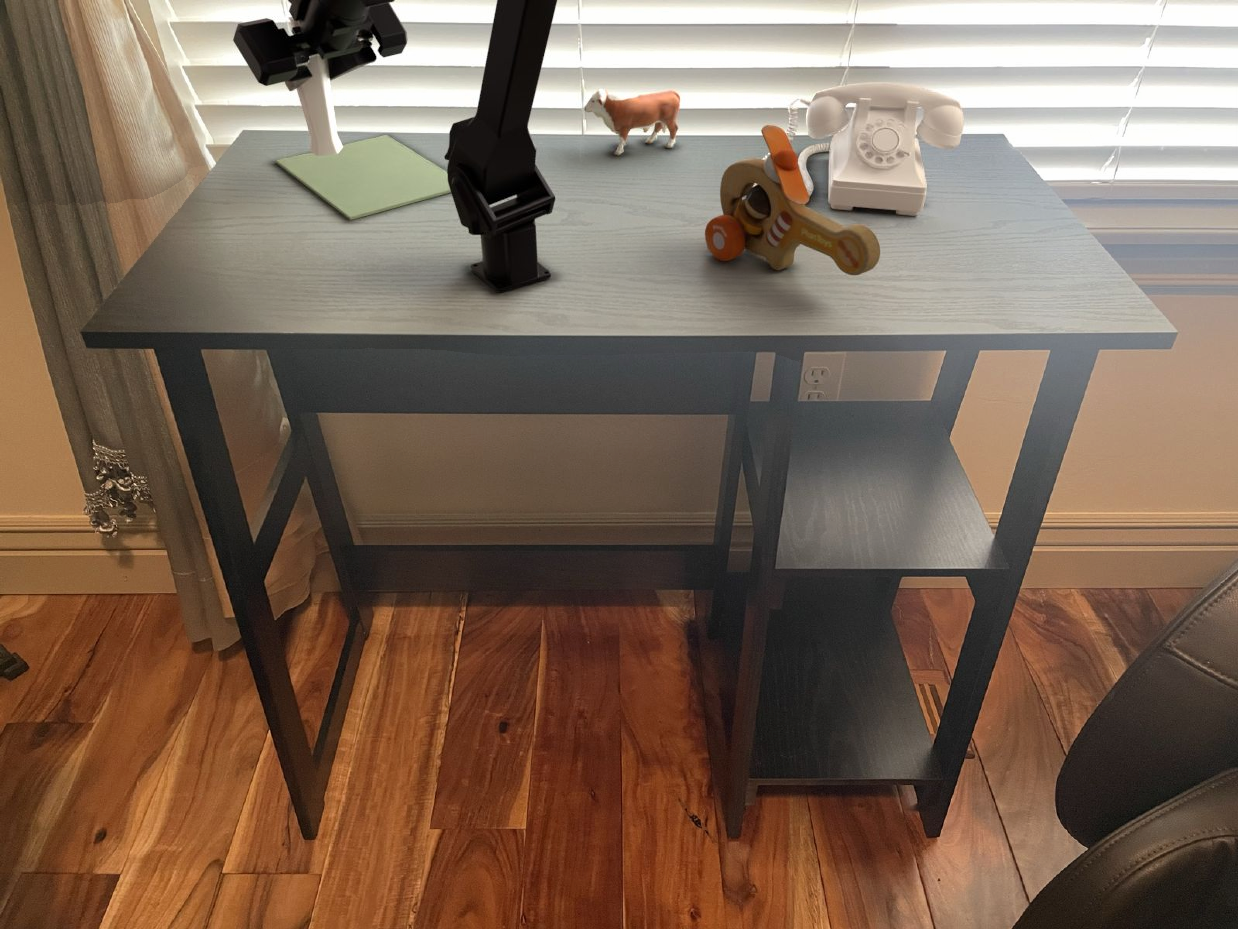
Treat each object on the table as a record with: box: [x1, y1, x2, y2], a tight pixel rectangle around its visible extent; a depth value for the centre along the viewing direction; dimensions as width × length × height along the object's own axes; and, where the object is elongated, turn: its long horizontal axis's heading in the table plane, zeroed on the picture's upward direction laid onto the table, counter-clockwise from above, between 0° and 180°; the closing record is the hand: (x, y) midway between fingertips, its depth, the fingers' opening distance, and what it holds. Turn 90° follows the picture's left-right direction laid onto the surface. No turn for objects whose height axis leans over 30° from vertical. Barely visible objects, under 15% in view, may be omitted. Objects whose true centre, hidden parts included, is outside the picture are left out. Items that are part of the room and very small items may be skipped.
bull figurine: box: [583, 88, 681, 156], centre depth 125 cm, size 4×13×8 cm, turn 107°
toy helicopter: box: [704, 124, 881, 276], centre depth 96 cm, size 8×21×14 cm, turn 39°
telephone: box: [753, 81, 965, 217], centre depth 116 cm, size 25×21×12 cm
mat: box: [275, 134, 451, 221], centre depth 119 cm, size 22×16×1 cm
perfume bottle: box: [288, 16, 344, 156], centre depth 109 cm, size 5×4×15 cm
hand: (306, 82), depth 109 cm, fingers closed on perfume bottle, 4 cm apart
